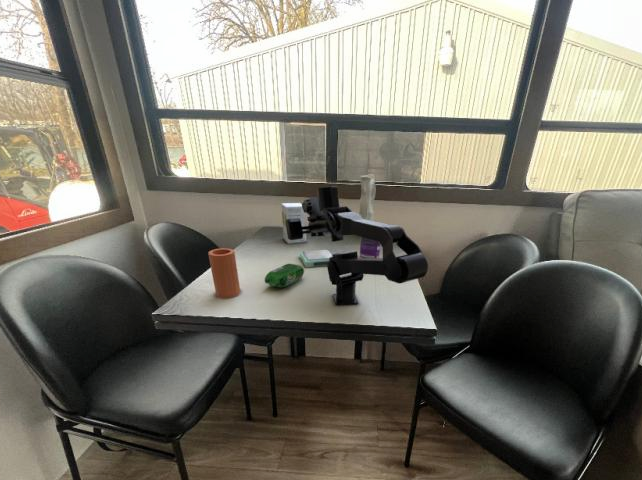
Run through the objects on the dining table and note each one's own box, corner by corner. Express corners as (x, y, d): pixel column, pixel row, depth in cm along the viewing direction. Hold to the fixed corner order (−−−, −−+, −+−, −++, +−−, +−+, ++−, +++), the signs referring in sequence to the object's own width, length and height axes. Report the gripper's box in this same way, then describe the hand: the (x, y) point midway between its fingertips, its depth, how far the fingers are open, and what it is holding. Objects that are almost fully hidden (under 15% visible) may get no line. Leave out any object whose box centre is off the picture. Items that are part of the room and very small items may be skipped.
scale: (336, 265, 115) (336, 258, 114) (306, 267, 111) (306, 260, 110) (328, 255, 125) (328, 248, 124) (300, 257, 122) (299, 250, 120)
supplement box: (283, 238, 145) (280, 203, 138) (301, 237, 149) (300, 202, 141) (288, 243, 138) (285, 206, 130) (307, 242, 141) (306, 205, 134)
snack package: (260, 289, 93) (259, 274, 91) (291, 273, 106) (290, 259, 103) (278, 294, 91) (277, 279, 88) (307, 277, 103) (307, 263, 101)
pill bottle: (379, 264, 118) (382, 228, 111) (359, 263, 117) (361, 227, 111) (378, 257, 125) (380, 223, 118) (359, 257, 125) (360, 222, 118)
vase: (366, 232, 163) (369, 173, 149) (376, 235, 157) (381, 174, 143) (354, 234, 158) (356, 173, 144) (364, 238, 152) (368, 175, 138)
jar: (238, 297, 88) (231, 255, 82) (213, 298, 87) (205, 255, 81) (241, 287, 94) (236, 248, 88) (219, 288, 92) (211, 248, 87)
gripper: (349, 195, 90) (324, 201, 103) (293, 198, 80) (273, 205, 93) (353, 232, 93) (328, 234, 106) (299, 239, 83) (279, 240, 96)
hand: (303, 228), depth 100 cm, fingers open, 9 cm apart
